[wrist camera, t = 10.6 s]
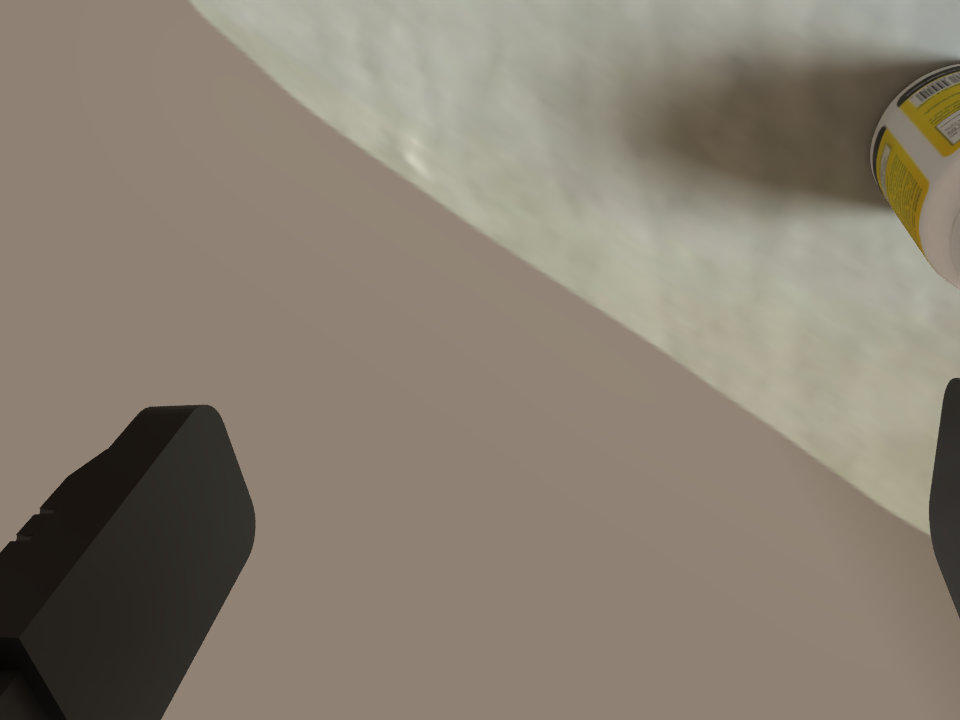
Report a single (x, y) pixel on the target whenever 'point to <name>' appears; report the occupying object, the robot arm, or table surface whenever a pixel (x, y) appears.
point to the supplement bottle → (924, 166)
